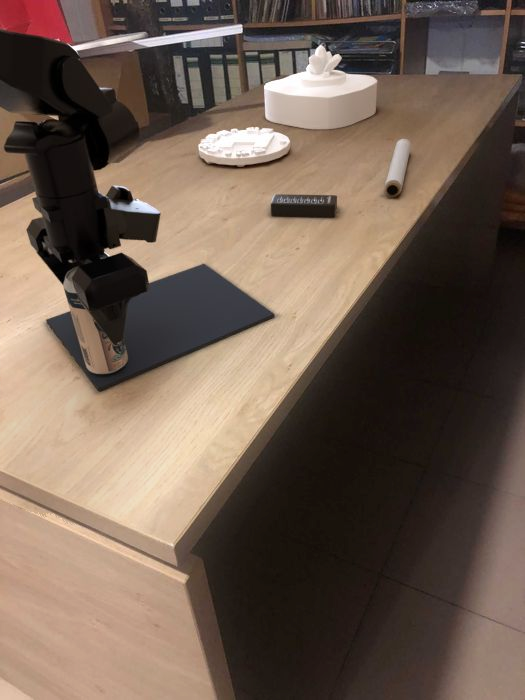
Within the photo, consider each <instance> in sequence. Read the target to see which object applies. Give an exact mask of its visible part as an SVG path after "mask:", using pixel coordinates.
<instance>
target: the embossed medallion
mask: <svg viewBox="0 0 525 700" xmlns="http://www.w3.org/2000/svg"><path fill="white" fill-rule="evenodd" d="M290 149H291V140H290V139H289V137H288V136H287V135H285V134H283V133H281V132H277V131H274V128H266V127H262V128H261V129H260V127H259V126H255V127H246V129H245V130H244V129H240V130H238V128H231V129H230V131H229V130H225V129H222V130H221V131H217V132H216V134H215V133H209V134H207V136H205V137H204V138H203V139H200V143H199V144H198V153H199V157H200V159H202V160H204V161H205V162H206V163H207V164H208V165H210V164H217V165H227V166H237V167H239V168H241V167H242V168H243V167H245V166H246V165H254V164H262V163H267V162H270V161H273V160H277V159H279V158H281V157H283V156H285V155H288V153H289V151H290Z"/></svg>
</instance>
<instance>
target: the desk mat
mask: <svg viewBox="0 0 525 700" xmlns="http://www.w3.org/2000/svg"><path fill="white" fill-rule="evenodd" d="M149 286H150V288H149V289H148V291H147V292H144V293H141V294H140V295H138V296H136V297H133V298H132V299H131V300H130V301H129V303H128V308H127V313H126V320H125V327H124V335H123V338H124V342H125V346H126V351H127V355H128V360H127V362H126V364H125V365H124V366H123V367H122V368H120V369H119V370H117V371H115V372H113V373H109V374H96V373H93V372H91V371H89V370H88V369H87V367H86V364H85V360H84V357H83V353H82V350H81V346H80V343H79V339H78V336H77V332H76V329H75V325H74V322H73V318H72V315H71V312H70V310H69V311H66V312H63V313H61V314H58V315H55V316H52V317H49V318H46V320H45V321H46V323H47V325H48V326H49V327H50V329H51V330H52V331H53V333H54V334H55V335H56V337H57V338H58V339H59V341H60V342H61V343H62V345H63V346H64V347H65V349H66V351H68V353H69V354H70V355H71V357H72V358H73V359H74V361H75V362H76V363H77V365H78V366H79V368H80V369H81V370H82V371H83V373H84V374H85V375H86V376H87V378H88V380H89V381H90V382H91V383H92V385H93V386H94V387H95V389H96V390H97V391H98V392H102V391H104V390H106V389H108V388H111V387H114V386H115V385H118V384H120V383H123V382H125V381H128V380H130V379H132V378H134V377H137V376H139V375H141V374H144V373H147V372H149V371H151V370H153V369H155V368H159V367H160V366H163V365H165V364H167V363H170V362H172V361H174V360H176V359H180V358H181V357H184V356H186V355H189V354H191V353H193V352H196V351H198V350H201V349H203V348H205V347H207V346H210V345H212V344H214V343H216V342H219V341H221V340H224V339H227V338H228V337H230V336H232V335H236V334H238V333H240V332H242V331H245V330H248V329H250V328H252V327H254V326H257V325H259V324H260V323H261V324H262V323H264V322H267V321H269V320H271V319H273V318H275V313H274V312H273V311H271V310H270V309H268V308H267V307H266V306H265V305H263V304H262V303H260V302H259V301H257V300H256V299H254V298H253V297H252V296H250V295H249V294H248V293H246V292H245V291H243V290H242V289H241V288H239V287H237V286H236V285H235V284H233V283H232V282H230V281H229V280H228V279H226V278H225V277H223V276H222V275H221V274H219V273H218V272H217V271H215V270H214V269H213V268H211V267H209V266H208V265H207V264H205V263H202V264H199V265H196V266H193V267H190V268H188V269H185V270H181V271H179V272H176V273H173V274H171V275H168V276H165V277H161V278H160V279H156V280H154V281H151V282H149Z"/></svg>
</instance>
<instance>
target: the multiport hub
mask: <svg viewBox="0 0 525 700" xmlns="http://www.w3.org/2000/svg"><path fill="white" fill-rule="evenodd" d="M271 199H272V200H271V202H270V216H271V217H276V218H277V217H282V218H316V219H317V218H318V219H319V218H323V219H334V218H336V214H337V211H338V196H337V195H335V194H334V195H333V194H287V193H286V194H284V193H283V194H281V193H277V194H274V195H273V197H272V198H271Z"/></svg>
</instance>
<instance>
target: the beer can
mask: <svg viewBox="0 0 525 700" xmlns="http://www.w3.org/2000/svg"><path fill="white" fill-rule="evenodd" d="M77 268H78V266H77V267H75V268H73V269H71V270H69V271H68V272H67V274H66V276H65V280H64V284H63V285H62V287H63V290H64V294H65V297H66V301H67V305H68V308H69V311H70V312H71V315H72V318H73V322H74V325H75V329H76V332H77V336H78V339H79V343H80V346H81V350H82V353H83V357H84V360H85V364H86V367H87V369H88V370H89V371H91V372H93V373H96V374H109V373H113V372H115V371H117V370H119V369H120V368H122V367H123V366H124V365H125V364H126V362H127V360H128V355H127V351H126V346H125V342H124V338H123V340H122V341H121V342H119V343H116V344H113V343H112V342H111V341H110V339H109V338H108V337H107V336H106V334H105V333H104V332H103V331H102V329H101V328H100V327H99V325H98V324H97V323H96V322H95V320H94V319H93V318H92V316H91V315H90V314H89V313H88V311H87V310H86V309H85V308H84V306H83V305H82V304H81V303H80V301H79V300H78V299H77V297H78V295H77V293H76V291H75V288H74V285H73V282H72V276H73V275H74V273H75V271H76V270H77Z"/></svg>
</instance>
